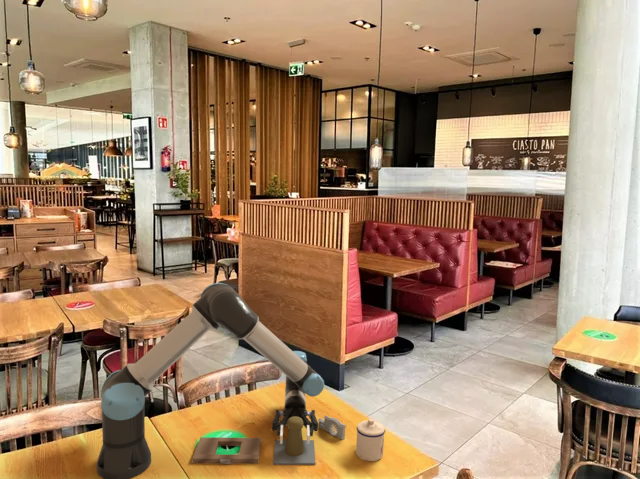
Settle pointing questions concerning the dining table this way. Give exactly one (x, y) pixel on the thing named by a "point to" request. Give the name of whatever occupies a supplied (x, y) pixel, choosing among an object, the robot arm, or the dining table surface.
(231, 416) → the dining table surface
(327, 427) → the garden wall model
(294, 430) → the brown tall rounded piece
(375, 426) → the teacup with lid
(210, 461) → the walnut holder
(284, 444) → the gray mat
